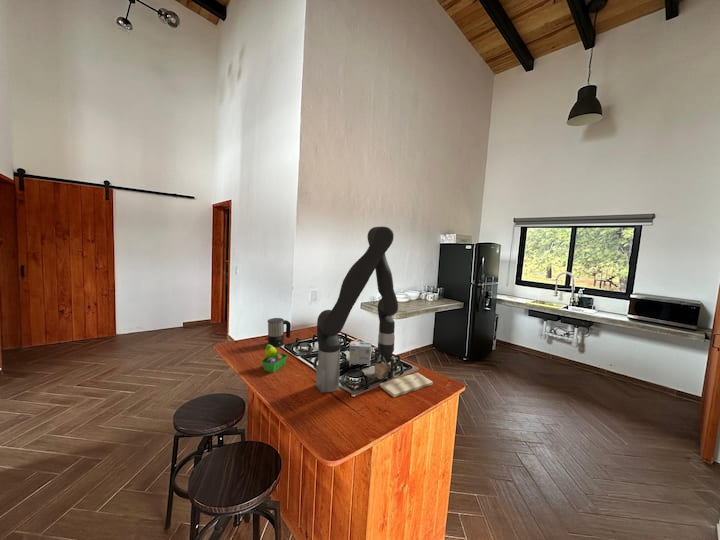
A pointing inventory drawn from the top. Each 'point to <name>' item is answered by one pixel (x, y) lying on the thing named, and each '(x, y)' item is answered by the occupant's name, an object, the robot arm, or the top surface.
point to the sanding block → (382, 370)
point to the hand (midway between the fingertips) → (384, 374)
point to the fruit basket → (273, 359)
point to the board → (405, 384)
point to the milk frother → (277, 331)
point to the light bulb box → (360, 353)
